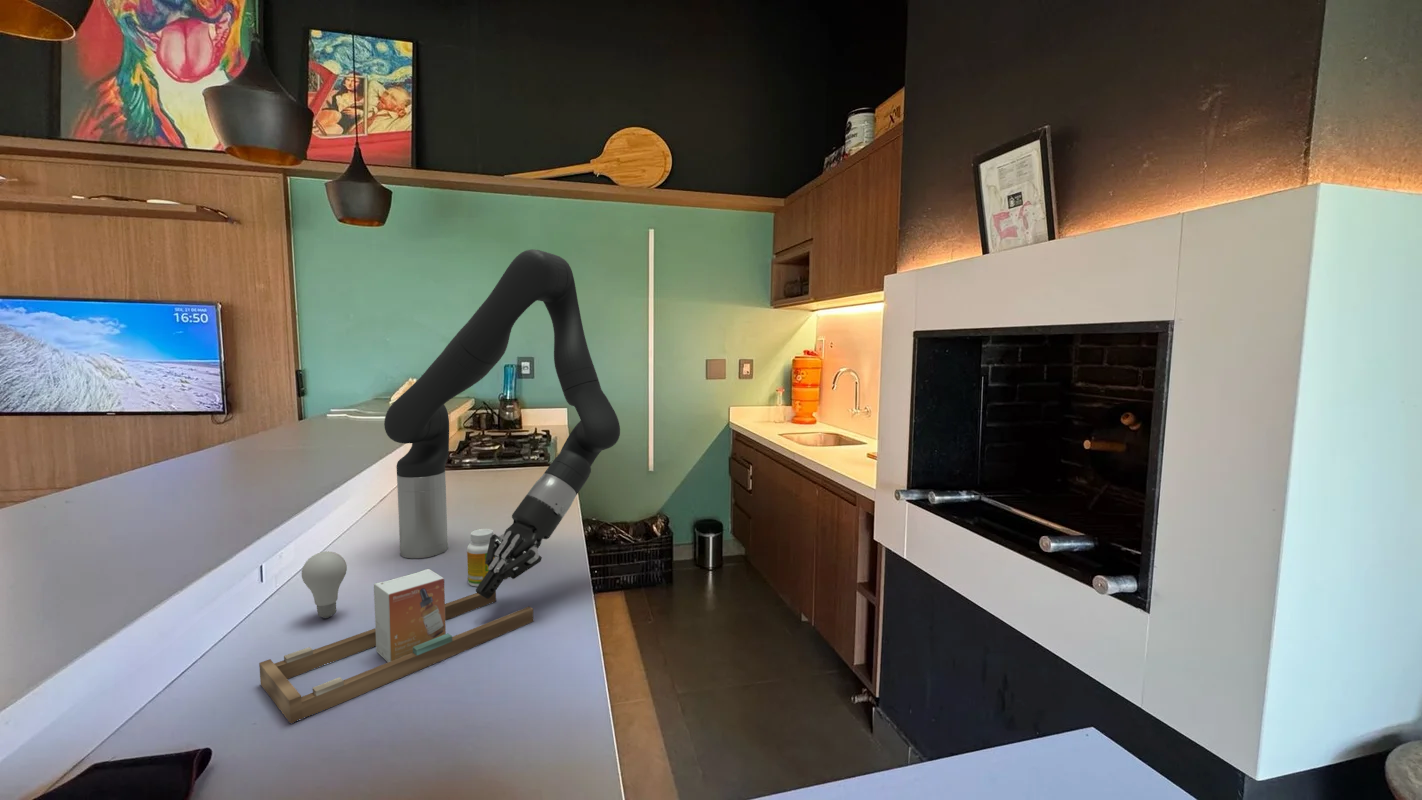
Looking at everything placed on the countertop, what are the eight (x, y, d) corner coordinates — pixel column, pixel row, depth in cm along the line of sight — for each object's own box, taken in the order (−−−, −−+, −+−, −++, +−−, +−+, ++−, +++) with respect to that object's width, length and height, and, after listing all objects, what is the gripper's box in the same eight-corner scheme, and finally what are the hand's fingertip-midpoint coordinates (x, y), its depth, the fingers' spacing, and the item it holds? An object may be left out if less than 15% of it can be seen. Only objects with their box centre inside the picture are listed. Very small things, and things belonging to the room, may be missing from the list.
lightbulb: (357, 612, 96) (354, 548, 95) (322, 629, 91) (318, 561, 90) (331, 606, 98) (327, 544, 97) (295, 622, 93) (291, 556, 92)
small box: (390, 667, 81) (386, 594, 80) (375, 652, 84) (372, 583, 83) (447, 645, 87) (445, 577, 86) (431, 632, 90) (429, 567, 89)
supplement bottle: (488, 588, 106) (486, 537, 105) (461, 586, 107) (460, 535, 106) (504, 577, 111) (502, 528, 110) (479, 574, 113) (477, 526, 112)
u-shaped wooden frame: (260, 684, 76) (259, 662, 76) (492, 599, 102) (491, 583, 102) (290, 724, 68) (289, 700, 68) (533, 621, 94) (533, 603, 94)
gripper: (510, 487, 103) (445, 574, 95) (554, 501, 95) (487, 597, 87) (536, 509, 108) (476, 594, 100) (581, 524, 100) (519, 618, 91)
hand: (481, 595), depth 93 cm, fingers closed
